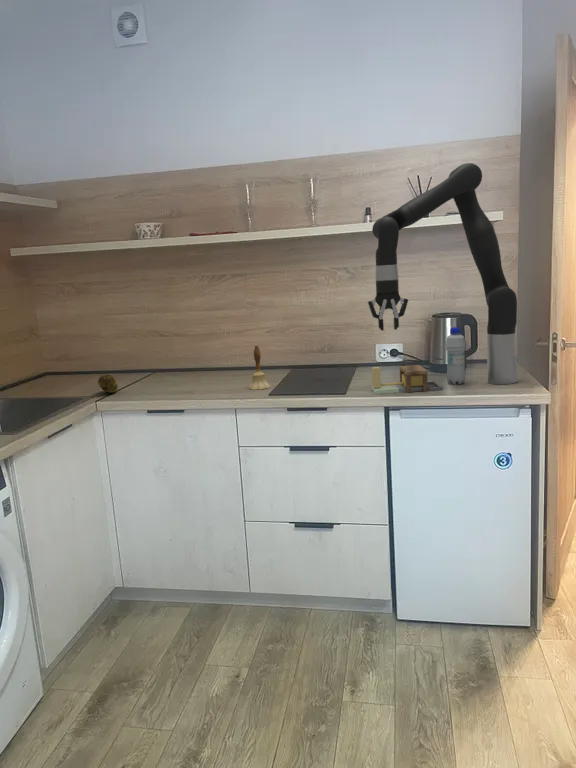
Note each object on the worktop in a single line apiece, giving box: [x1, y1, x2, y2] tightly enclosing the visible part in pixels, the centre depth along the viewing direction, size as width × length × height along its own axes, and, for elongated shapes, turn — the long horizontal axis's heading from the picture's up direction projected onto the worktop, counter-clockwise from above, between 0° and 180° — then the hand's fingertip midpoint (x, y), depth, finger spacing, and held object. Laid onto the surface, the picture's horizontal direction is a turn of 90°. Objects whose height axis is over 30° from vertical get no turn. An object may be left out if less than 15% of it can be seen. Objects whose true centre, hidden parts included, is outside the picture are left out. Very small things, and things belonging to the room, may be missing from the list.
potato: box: [97, 374, 119, 394], centre depth 246 cm, size 8×13×8 cm, turn 175°
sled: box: [371, 366, 423, 388], centre depth 218 cm, size 18×5×7 cm, turn 91°
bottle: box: [445, 326, 466, 386], centre depth 221 cm, size 7×7×20 cm
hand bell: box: [248, 345, 271, 391], centre depth 238 cm, size 8×8×16 cm
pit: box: [428, 381, 444, 392], centre depth 219 cm, size 5×11×1 cm, turn 2°
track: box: [371, 385, 423, 395], centre depth 219 cm, size 18×8×1 cm, turn 92°
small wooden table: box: [399, 364, 429, 394], centre depth 219 cm, size 7×12×7 cm, turn 1°
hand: (388, 329), depth 215 cm, fingers open, 4 cm apart
